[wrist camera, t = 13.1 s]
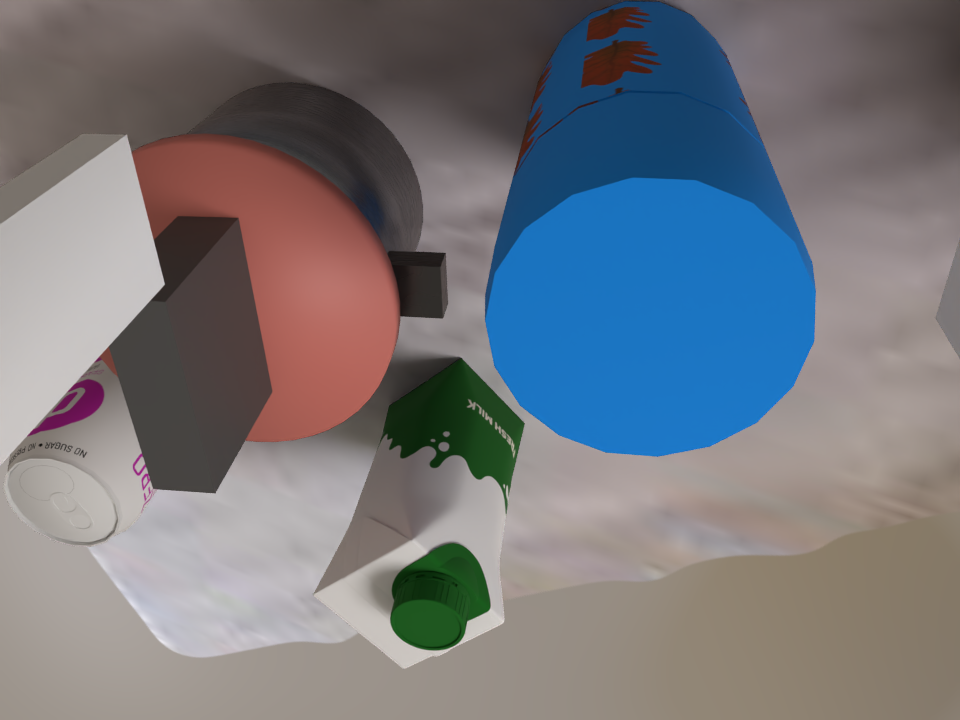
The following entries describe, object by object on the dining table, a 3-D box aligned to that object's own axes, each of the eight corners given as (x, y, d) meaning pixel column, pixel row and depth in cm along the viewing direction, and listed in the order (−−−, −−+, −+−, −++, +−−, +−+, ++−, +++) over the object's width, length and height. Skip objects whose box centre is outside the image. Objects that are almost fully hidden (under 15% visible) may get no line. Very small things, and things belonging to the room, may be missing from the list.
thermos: (509, 149, 51) (436, 395, 30) (581, -36, 45) (552, 115, 24) (678, 215, 52) (719, 498, 31) (770, 43, 46) (897, 253, 25)
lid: (385, 136, 39) (327, 224, 31) (412, 433, 48) (372, 559, 41) (34, 130, 41) (-102, 212, 33) (125, 417, 51) (35, 533, 43)
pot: (467, 80, 49) (429, 154, 39) (473, 317, 58) (444, 427, 48) (118, 74, 52) (0, 143, 42) (174, 302, 60) (87, 404, 50)
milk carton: (542, 425, 62) (516, 657, 45) (449, 479, 66) (394, 711, 50) (462, 341, 59) (402, 557, 42) (369, 403, 63) (282, 623, 46)
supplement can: (92, 336, 63) (-36, 471, 50) (181, 300, 60) (69, 434, 48) (159, 420, 67) (55, 566, 54) (246, 390, 64) (156, 536, 51)
